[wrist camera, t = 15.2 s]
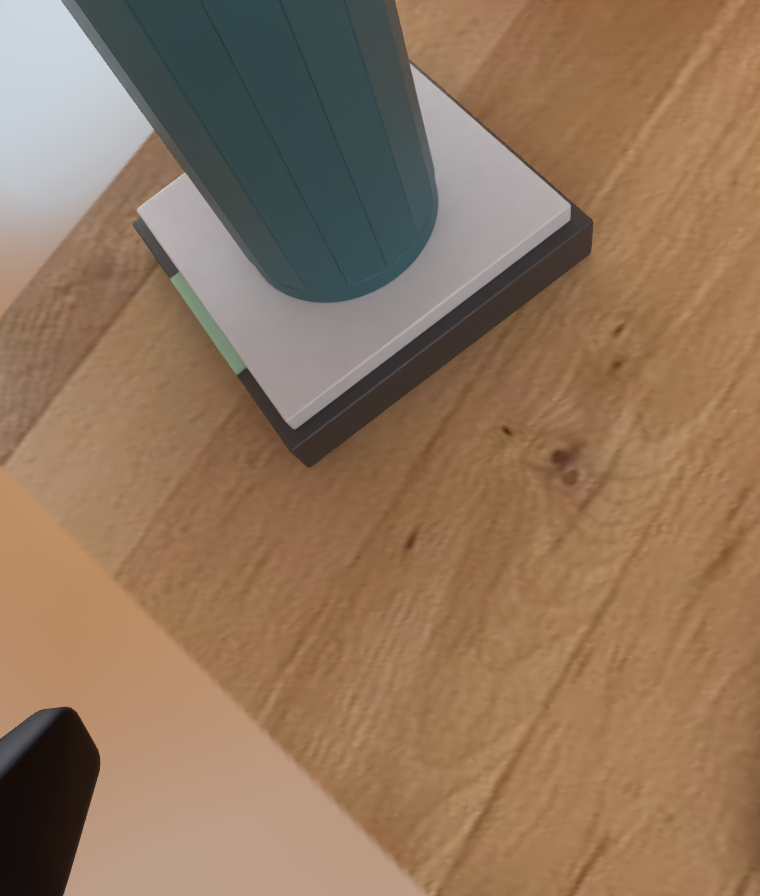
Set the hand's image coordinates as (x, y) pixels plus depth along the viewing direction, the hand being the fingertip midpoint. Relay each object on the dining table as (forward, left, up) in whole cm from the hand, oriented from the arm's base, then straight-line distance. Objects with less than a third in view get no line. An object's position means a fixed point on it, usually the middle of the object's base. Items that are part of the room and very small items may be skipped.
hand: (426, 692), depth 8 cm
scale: (+5, +15, -13) cm, 20 cm away
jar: (+5, +15, -10) cm, 18 cm away
